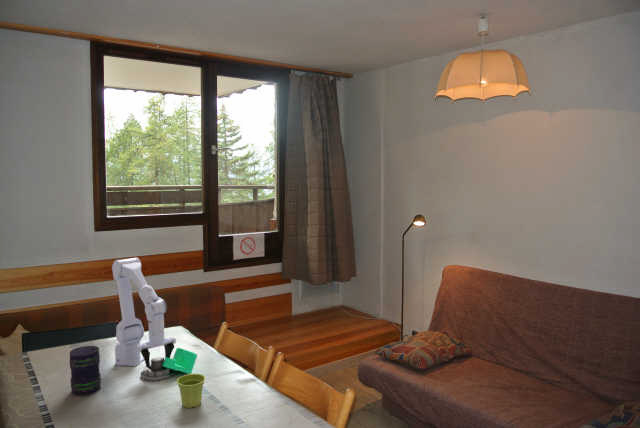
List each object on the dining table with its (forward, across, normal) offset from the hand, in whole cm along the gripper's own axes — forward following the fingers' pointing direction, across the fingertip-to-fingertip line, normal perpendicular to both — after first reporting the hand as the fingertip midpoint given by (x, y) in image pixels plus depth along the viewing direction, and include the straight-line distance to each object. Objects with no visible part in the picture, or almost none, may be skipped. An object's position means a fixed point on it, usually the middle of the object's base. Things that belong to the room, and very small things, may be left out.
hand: (157, 364), depth 187 cm
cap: (+3, 0, 0) cm, 3 cm away
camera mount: (+1, +11, -2) cm, 12 cm away
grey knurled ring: (+4, 0, 0) cm, 4 cm away
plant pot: (+4, 0, -32) cm, 33 cm away
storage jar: (+4, -26, +3) cm, 26 cm away
